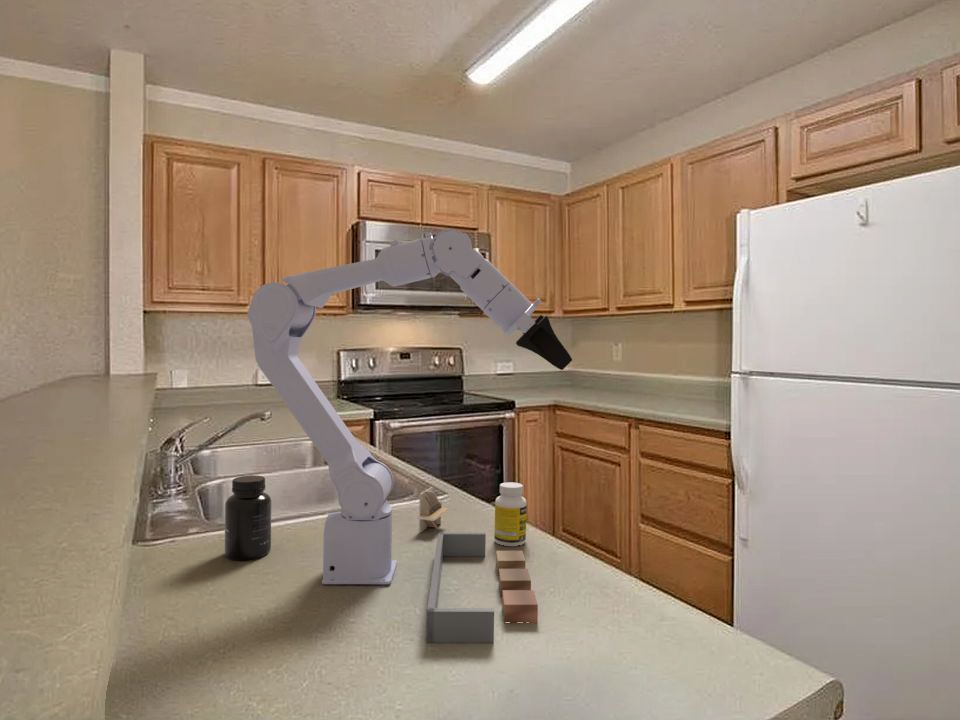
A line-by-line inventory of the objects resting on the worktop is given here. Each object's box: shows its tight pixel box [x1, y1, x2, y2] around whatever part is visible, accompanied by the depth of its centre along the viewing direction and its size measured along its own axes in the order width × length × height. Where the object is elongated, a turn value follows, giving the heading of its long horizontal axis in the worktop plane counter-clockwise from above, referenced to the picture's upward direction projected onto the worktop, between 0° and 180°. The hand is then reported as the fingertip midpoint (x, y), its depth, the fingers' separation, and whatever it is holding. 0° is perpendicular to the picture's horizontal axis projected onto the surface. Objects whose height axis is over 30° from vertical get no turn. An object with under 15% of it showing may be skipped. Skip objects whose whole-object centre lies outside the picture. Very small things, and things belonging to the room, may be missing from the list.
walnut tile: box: [498, 568, 532, 598], centre depth 76 cm, size 4×4×2 cm
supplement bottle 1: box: [224, 474, 273, 562], centre depth 88 cm, size 7×7×12 cm
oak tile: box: [495, 550, 526, 577], centre depth 83 cm, size 4×4×2 cm
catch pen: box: [426, 532, 495, 644], centre depth 76 cm, size 8×27×4 cm, turn 2°
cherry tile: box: [501, 589, 539, 624], centre depth 69 cm, size 4×4×2 cm
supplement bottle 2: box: [493, 481, 528, 547], centre depth 96 cm, size 5×5×10 cm
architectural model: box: [417, 486, 449, 533], centre depth 101 cm, size 3×7×7 cm, turn 162°
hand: (564, 363), depth 81 cm, fingers open, 7 cm apart
